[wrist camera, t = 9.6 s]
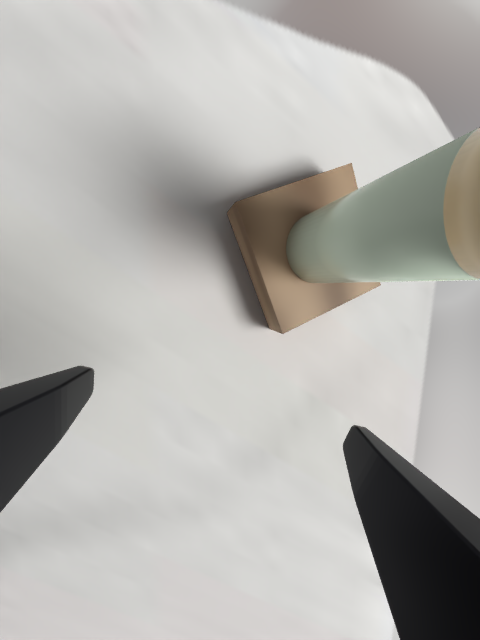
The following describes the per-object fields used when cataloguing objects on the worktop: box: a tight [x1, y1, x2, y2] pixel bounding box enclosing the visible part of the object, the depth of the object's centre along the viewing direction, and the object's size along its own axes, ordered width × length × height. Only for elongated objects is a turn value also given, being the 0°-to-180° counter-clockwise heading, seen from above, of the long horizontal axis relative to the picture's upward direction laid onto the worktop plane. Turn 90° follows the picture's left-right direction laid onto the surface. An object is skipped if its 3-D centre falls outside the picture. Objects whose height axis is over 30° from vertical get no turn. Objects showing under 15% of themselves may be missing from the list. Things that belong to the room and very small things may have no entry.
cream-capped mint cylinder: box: [286, 127, 480, 283], centre depth 13 cm, size 5×5×12 cm
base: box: [227, 163, 381, 334], centre depth 20 cm, size 10×10×2 cm
